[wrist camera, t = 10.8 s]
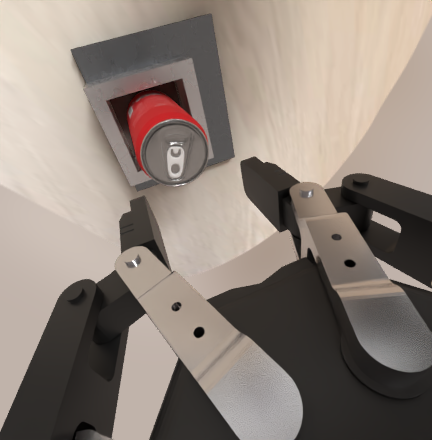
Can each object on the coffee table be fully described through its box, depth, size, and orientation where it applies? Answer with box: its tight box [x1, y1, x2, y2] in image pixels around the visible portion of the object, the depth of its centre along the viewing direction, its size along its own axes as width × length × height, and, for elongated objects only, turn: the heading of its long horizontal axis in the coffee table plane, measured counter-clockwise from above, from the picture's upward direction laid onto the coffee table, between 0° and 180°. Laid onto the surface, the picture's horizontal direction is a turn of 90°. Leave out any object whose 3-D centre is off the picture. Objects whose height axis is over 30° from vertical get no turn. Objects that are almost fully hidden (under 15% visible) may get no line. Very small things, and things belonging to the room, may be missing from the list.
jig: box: [71, 14, 235, 191], centre depth 25 cm, size 12×14×4 cm
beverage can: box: [127, 90, 209, 187], centre depth 22 cm, size 5×5×12 cm
